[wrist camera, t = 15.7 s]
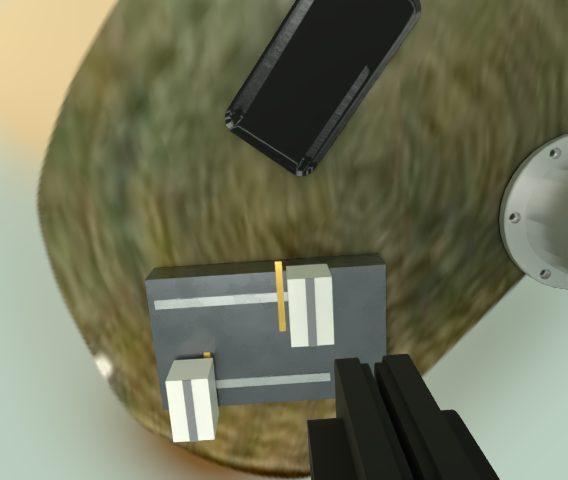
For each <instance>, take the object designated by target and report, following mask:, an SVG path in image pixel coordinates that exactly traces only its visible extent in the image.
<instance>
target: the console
mask: <svg viewBox="0 0 568 480" xmlns="http://www.w3.org/2000/svg"><path fill="white" fill-rule="evenodd" d="M313 264H327V266H328V268H329V271H330V273H331V276H332V297H333V324H334V344H333V345H318V346H313V347H309V346H303V347H291V335H290V322H289V306H288V290H287V273H286V266H298V265H313ZM145 285H146V292H147V299H148V306H149V313H150V320H151V327H152V334H153V341H154V348H155V355H156V362H157V370H158V377H159V384H160V391H161V398H162V405H163V410H167V409H169V404H168V397H167V390H166V382H165V381H166V379H167V376H168V374H169V371H170V369H171V366H172V364H173V362H174V360H188V359H203V358H213V364H214V373H215V382H216V392H217V401H218V406H226V405H241V404H256V403H271V402H285V401H300V400H315V399H330V398H336V397H335V375H334V359H343V358H357V357H358V358H359V360H360V363H361V364H362V363H368V364H369V366H370V369H371V371H372V374H373V376H374V364H375V363H376V362H382V357H383V356H384V355H386V264H385V263H384V262H383V261H382V259H381V258H380V257H379V255H378V254H362V255H346V256H331V257H315V258H300V259H285V260H269V261H254V262H238V263H223V264H208V265H192V266H177V267H161V268H154V269H153V271H152V272H151V273H150V274H149V276H148V277H147V278H146V279H145Z"/></svg>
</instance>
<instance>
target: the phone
mask: <svg viewBox="0 0 568 480" xmlns="http://www.w3.org/2000/svg"><path fill="white" fill-rule="evenodd" d="M420 13H421V3H420V1H419V0H296V1H295V3H294V5H293V6H292V8H291V9H290V11H289V12H288V14H287V16H286V17H285V19H284V20H283V22H282V24H281V25H280V27H279V28H278V30H277V31H276V33H275V35H274V36H273V38H272V39H271V41H270V43H269V44H268V46H267V47H266V49H265V51H264V52H263V54H262V55H261V57H260V58H259V60H258V62H257V63H256V65H255V66H254V68H253V70H252V71H251V73H250V74H249V76H248V78H247V79H246V81H245V82H244V84H243V85H242V87H241V89H240V90H239V92H238V93H237V95H236V97H235V98H234V100H233V101H232V103H231V105H230V106H229V108H228V109H227V112H226V114H225V122H226V125H227V127H228V129H229V130H230V131H231V132H233V133H234V134H236V135H237V136H238V137H240V138H241V139H243V140H244V141H246V142H247V143H249V144H250V145H252V146H253V147H255V148H256V149H257V150H259V151H260V152H262V153H263V154H265V155H266V156H268V157H269V158H271V159H272V160H274V161H275V162H276V163H278V164H279V165H281V166H282V167H284V168H285V169H287V170H288V171H290V172H291V173H293V174H295V175H297V176H306V175H308V174H310V173H311V172H312V171H313V170H314V169H315V168H316V166H317V165H318V163H319V162H320V160H321V159H322V158H323V157H324V155H325V153H326V152H327V150H328V149H329V148H330V147H331V145H332V144H333V142H334V141H335V140H336V138H337V136H338V134H340V133H341V131H342V130H343V128H344V127H345V126H346V123H347V121H348V120H349V118H350V117H351V115H352V114H353V113H354V111H355V110H356V108H357V107H358V105H359V104H360V102H361V101H362V100H363V98H364V97H365V95H366V94H367V92H368V91H369V89H370V88H371V87H372V85H373V84H374V82H375V81H376V79H377V78H378V76H379V75H380V74H381V72H382V71H383V69H384V68H385V66H386V65H387V63H388V62H389V61H390V59H391V58H392V56H393V55H394V53H395V52H396V50H397V49H398V47H399V46H400V45H401V43H402V42H403V40H404V39H405V37H406V36H407V34H408V33H409V32H410V30H411V29H412V27H413V26H414V24H415V23H416V21H417V20H418V18H419V16H420Z"/></svg>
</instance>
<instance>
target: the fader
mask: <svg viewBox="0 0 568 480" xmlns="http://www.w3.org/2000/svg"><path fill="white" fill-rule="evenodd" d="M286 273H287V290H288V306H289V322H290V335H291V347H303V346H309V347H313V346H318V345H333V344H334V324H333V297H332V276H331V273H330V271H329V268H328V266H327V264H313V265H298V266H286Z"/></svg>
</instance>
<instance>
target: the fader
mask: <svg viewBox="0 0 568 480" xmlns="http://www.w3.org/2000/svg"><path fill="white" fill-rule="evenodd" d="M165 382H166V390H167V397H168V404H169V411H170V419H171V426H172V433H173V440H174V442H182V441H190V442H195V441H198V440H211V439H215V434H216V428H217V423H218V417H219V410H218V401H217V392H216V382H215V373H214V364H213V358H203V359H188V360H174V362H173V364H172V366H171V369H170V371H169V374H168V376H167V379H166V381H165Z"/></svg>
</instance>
